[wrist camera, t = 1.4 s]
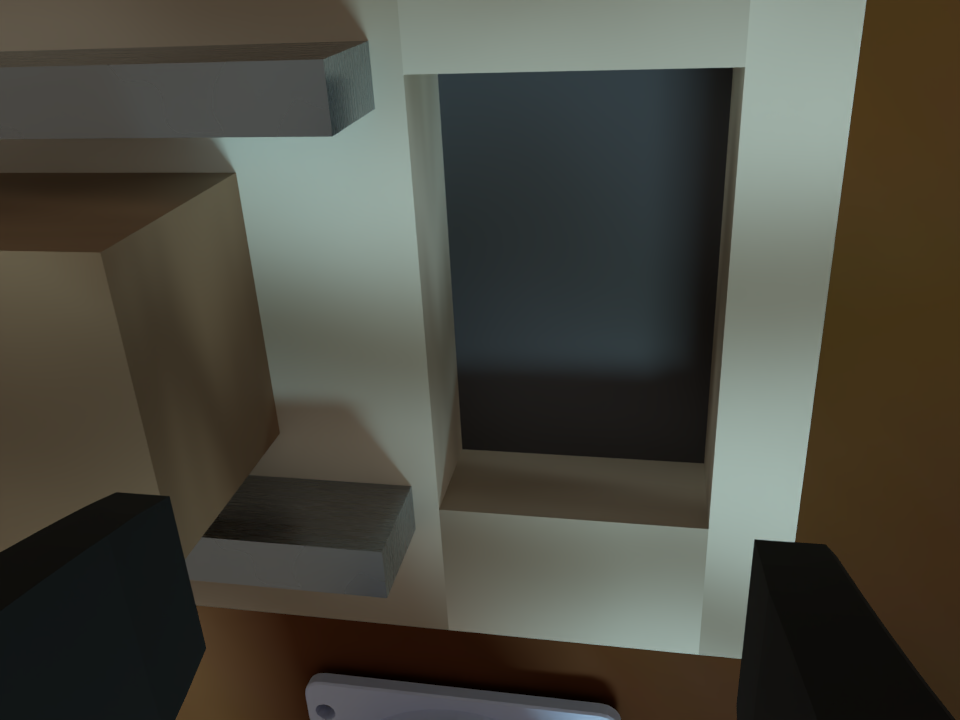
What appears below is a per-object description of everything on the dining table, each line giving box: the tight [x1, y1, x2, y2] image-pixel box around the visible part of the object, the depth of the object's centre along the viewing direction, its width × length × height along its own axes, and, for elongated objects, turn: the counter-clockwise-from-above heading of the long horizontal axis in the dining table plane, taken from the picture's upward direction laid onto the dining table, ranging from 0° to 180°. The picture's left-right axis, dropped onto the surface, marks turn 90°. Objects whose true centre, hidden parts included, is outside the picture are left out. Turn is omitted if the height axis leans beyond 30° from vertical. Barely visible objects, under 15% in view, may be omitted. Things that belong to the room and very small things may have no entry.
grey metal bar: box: [0, 41, 416, 598], centre depth 15 cm, size 9×10×2 cm
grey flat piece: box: [0, 0, 866, 659], centre depth 18 cm, size 14×28×2 cm, turn 93°
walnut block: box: [0, 173, 280, 559], centre depth 15 cm, size 5×5×4 cm
